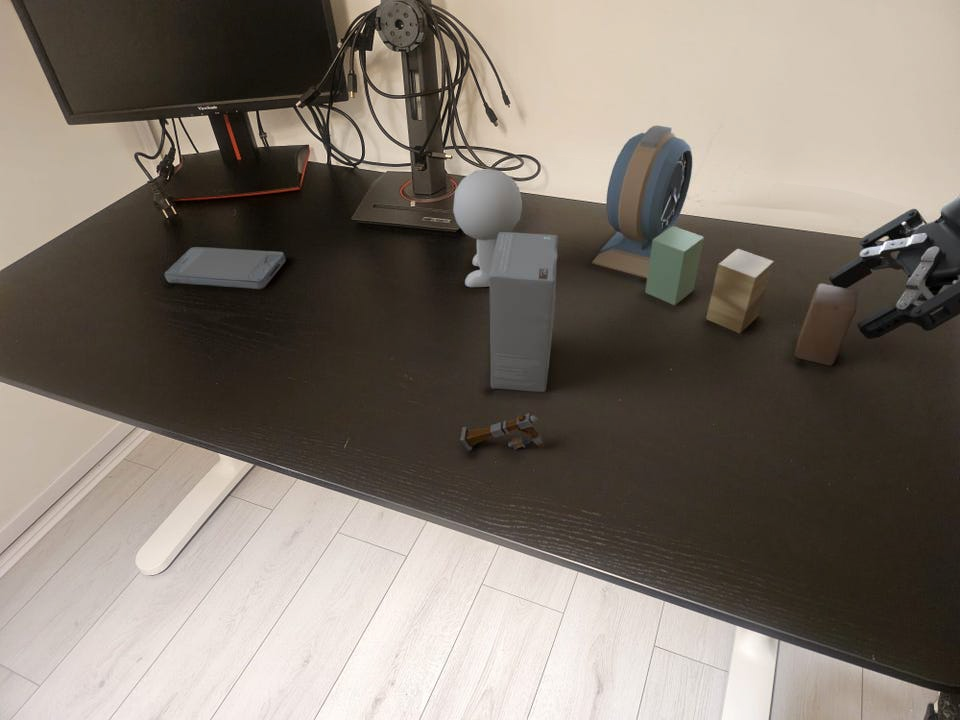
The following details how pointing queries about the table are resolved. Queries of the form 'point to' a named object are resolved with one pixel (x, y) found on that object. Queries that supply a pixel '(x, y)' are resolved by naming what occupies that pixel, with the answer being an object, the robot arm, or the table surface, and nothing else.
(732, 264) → the line block
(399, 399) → the table surface
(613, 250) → the alarm clock
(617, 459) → the table surface
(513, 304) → the cosmetic box
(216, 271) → the phone
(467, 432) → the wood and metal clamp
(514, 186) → the toy character
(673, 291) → the line block
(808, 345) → the wooden block
